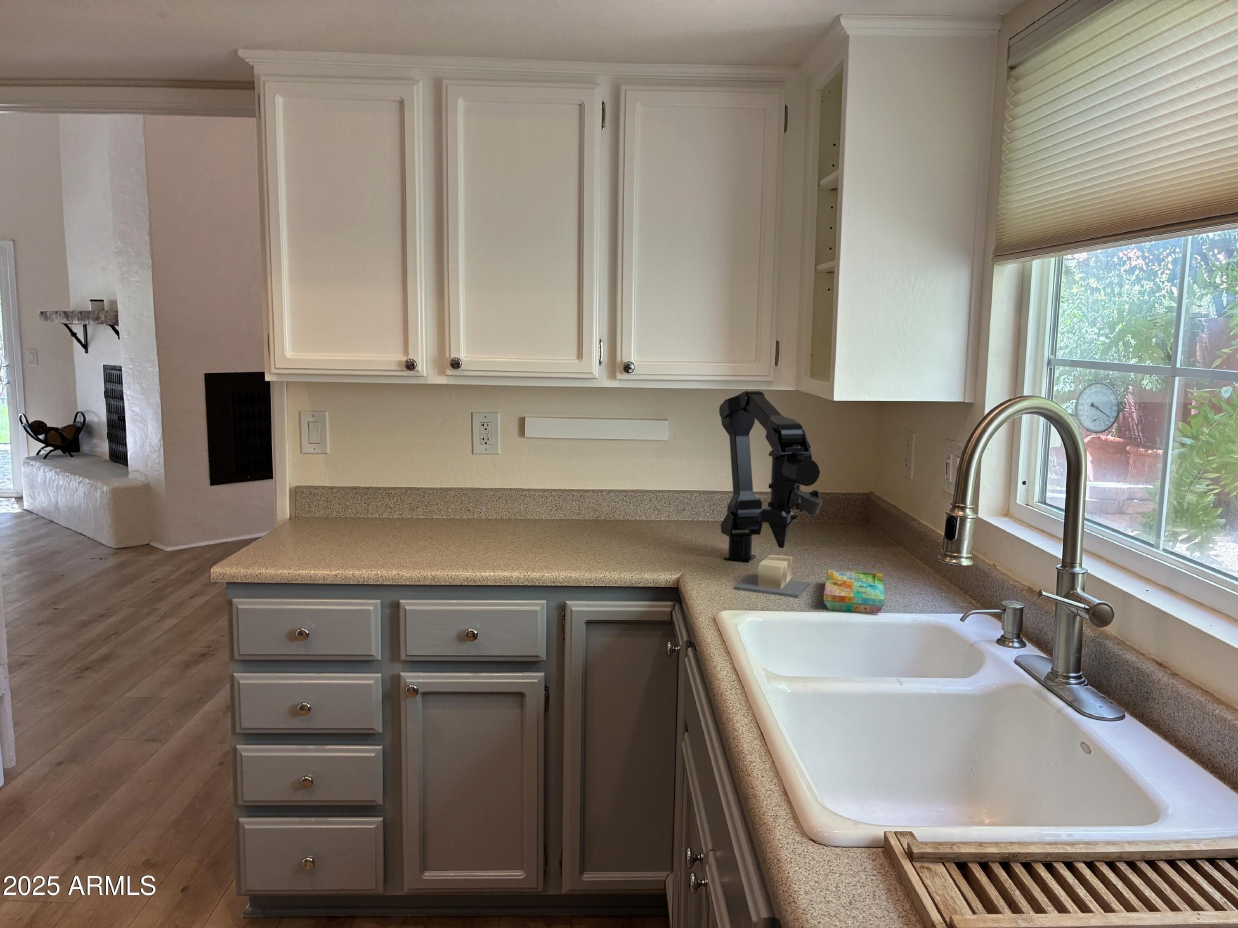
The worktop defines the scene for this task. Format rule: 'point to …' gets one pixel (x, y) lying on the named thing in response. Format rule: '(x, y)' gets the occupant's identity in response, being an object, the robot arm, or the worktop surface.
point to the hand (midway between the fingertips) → (781, 547)
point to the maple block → (775, 571)
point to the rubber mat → (788, 589)
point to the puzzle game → (854, 591)
